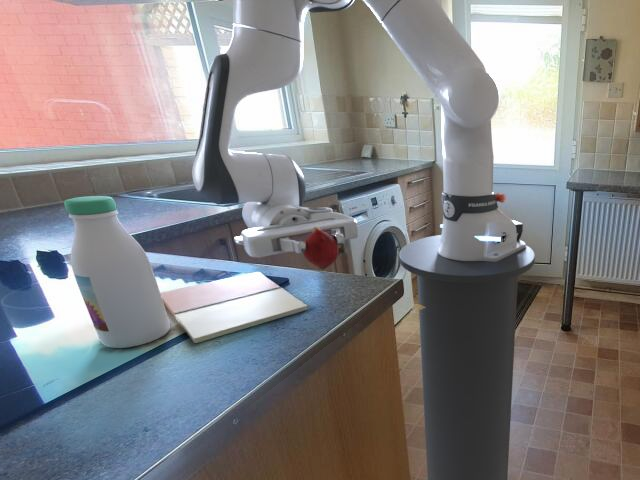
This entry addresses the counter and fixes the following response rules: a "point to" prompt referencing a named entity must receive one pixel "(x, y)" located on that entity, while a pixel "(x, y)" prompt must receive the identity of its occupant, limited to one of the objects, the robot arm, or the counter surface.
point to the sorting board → (229, 305)
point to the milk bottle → (114, 276)
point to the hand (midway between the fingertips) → (322, 243)
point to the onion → (321, 249)
